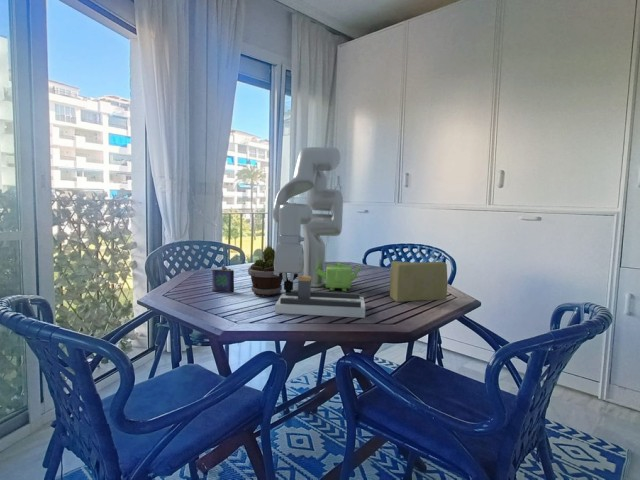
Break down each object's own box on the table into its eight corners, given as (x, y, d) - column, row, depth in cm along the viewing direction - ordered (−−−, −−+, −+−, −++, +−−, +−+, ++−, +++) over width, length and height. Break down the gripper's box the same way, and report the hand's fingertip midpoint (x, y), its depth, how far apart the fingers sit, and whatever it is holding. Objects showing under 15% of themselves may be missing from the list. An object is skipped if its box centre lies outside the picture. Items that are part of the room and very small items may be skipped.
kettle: (362, 289, 166) (363, 264, 164) (339, 295, 156) (340, 267, 154) (337, 283, 176) (338, 259, 175) (314, 287, 166) (315, 262, 165)
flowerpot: (279, 300, 145) (280, 247, 143) (241, 296, 148) (241, 245, 146) (290, 291, 159) (291, 243, 157) (255, 288, 162) (255, 241, 160)
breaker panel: (282, 301, 144) (282, 289, 143) (363, 305, 142) (363, 292, 141) (275, 313, 129) (275, 299, 128) (365, 317, 127) (365, 304, 126)
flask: (210, 291, 155) (211, 264, 154) (214, 289, 158) (214, 263, 157) (232, 292, 154) (232, 266, 152) (235, 291, 157) (235, 265, 155)
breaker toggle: (299, 296, 138) (300, 275, 137) (310, 297, 138) (311, 276, 137) (297, 300, 133) (298, 278, 132) (309, 301, 133) (309, 279, 132)
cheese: (440, 296, 159) (442, 260, 157) (451, 302, 150) (454, 264, 148) (388, 296, 156) (390, 259, 155) (396, 302, 147) (398, 264, 145)
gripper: (311, 239, 137) (310, 290, 139) (270, 238, 138) (269, 288, 140) (309, 242, 129) (308, 295, 131) (265, 240, 130) (265, 293, 132)
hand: (288, 291), depth 135 cm, fingers closed
